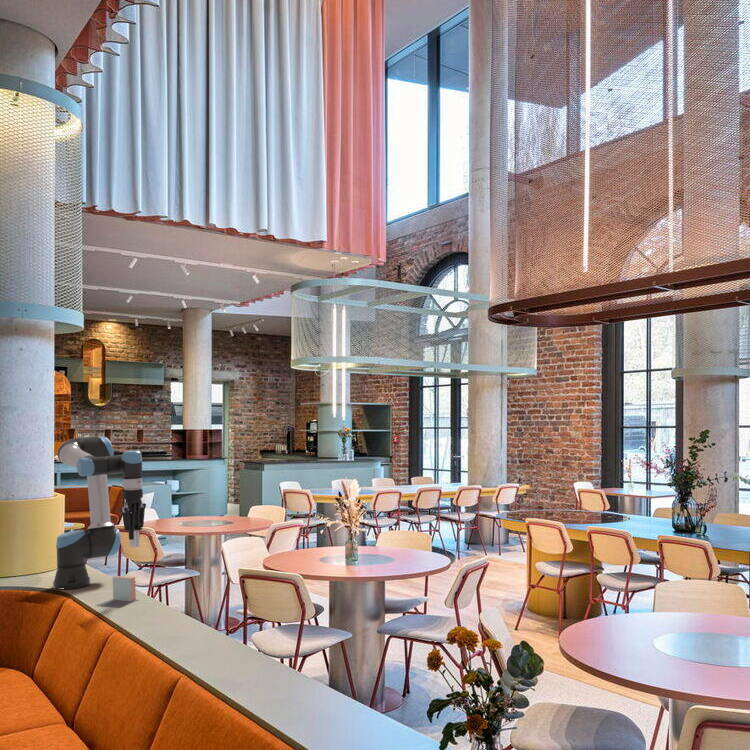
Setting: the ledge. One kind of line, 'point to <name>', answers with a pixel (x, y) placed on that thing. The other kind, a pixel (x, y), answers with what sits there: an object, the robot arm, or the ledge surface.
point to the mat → (115, 603)
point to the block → (124, 588)
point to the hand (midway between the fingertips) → (134, 546)
